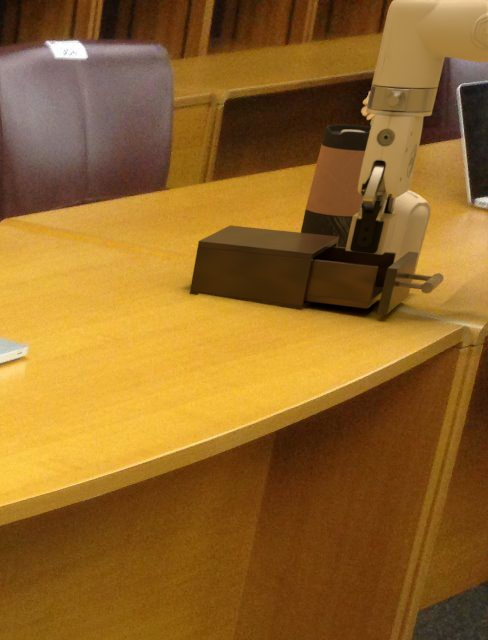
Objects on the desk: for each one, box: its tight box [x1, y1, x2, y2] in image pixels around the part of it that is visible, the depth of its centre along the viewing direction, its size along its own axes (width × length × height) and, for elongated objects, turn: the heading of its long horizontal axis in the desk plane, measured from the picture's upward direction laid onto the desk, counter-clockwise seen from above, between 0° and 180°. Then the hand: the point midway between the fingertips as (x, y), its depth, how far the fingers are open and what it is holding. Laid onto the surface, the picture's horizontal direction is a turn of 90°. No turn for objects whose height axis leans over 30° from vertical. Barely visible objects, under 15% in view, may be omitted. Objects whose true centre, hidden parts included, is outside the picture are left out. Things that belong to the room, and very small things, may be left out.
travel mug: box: [300, 124, 371, 247], centre depth 220 cm, size 8×8×20 cm
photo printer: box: [386, 189, 432, 282], centre depth 218 cm, size 10×4×12 cm, turn 13°
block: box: [345, 212, 397, 255], centre depth 200 cm, size 4×4×4 cm
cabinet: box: [189, 225, 339, 311], centre depth 209 cm, size 15×15×8 cm
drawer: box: [304, 246, 444, 315], centre depth 202 cm, size 18×13×6 cm
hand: (368, 247), depth 201 cm, fingers closed on block, 4 cm apart
